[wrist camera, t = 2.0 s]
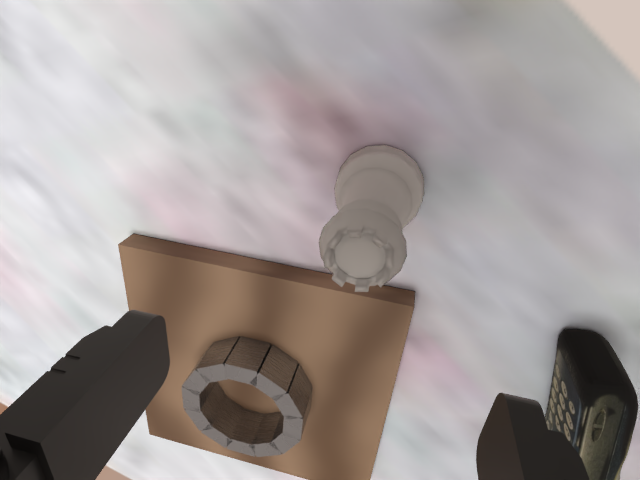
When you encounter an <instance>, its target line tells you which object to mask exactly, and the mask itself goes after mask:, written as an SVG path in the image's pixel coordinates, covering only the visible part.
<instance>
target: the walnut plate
mask: <svg viewBox="0 0 640 480" xmlns="http://www.w3.org/2000/svg"><path fill="white" fill-rule="evenodd" d="M118 246H119V252H120V258H121V264H122V270H123V276H124V282H125V288H126V294H127V300H128V307H129V311H130V310H138V311H143V312H147V313H152V314H156V315H160V316H163V317H164V319H165V323H166V331H167V339H168V347H169V356H170V367H169V371H168V375H167V377H166V379H165V382H164V383H163V385H162V387H161V388H160V389H159V391H158V392H157V394H156V395H155V396H154V398H153V399H152V401H151V402H150V403H149V405H148V406H147V408H146V415H147V421H148V427H149V433H150V434H151V435H154V436H158V437H161V438H165V439H168V440H172V441H175V442H179V443H182V444H186V445H189V446H193V447H196V448H200V449H203V450H207V451H210V452H214V453H217V454H221V455H224V456H228V457H231V458H235V459H238V460H242V461H245V462H249V463H252V464H256V465H259V466H263V467H266V468H270V469H273V470H276V471H280V472H283V473H287V474H290V475H294V476H297V477H301V478H304V479H308V480H370V478H371V474H372V470H373V466H374V462H375V458H376V454H377V450H378V446H379V442H380V439H381V435H382V431H383V427H384V423H385V419H386V415H387V411H388V407H389V403H390V400H391V396H392V392H393V388H394V384H395V380H396V376H397V372H398V368H399V364H400V361H401V357H402V353H403V349H404V345H405V341H406V337H407V333H408V329H409V325H410V322H411V318H412V314H413V310H414V300H415V292H414V291H410V290H405V289H400V288H395V287H390V286H385V285H383V286H382V287H381V288H380V287H379V286H378V285H375V286H369V291H368V292H355V285H354V284H351V283H348V282H345V283H344V285H343V286H342V287H341V286H339V285H338V284H337V283H336V282H334V281H333V280H332V276H333V275H332V274H327V273H322V272H317V271H312V270H307V269H302V268H298V267H293V266H288V265H283V264H278V263H273V262H268V261H263V260H259V259H254V258H249V257H244V256H239V255H234V254H229V253H225V252H220V251H215V250H210V249H205V248H200V247H195V246H190V245H186V244H181V243H176V242H171V241H166V240H161V239H156V238H151V237H147V236H142V235H137V234H132V235H131V236H130V237H128V238H127V239H125V240H124V241H123V242H121V243H120V244H118ZM236 336H240V337H241V336H244V337H248V338H253V339H257V340H261V341H265V342H269V343H271V345H272V344H274V345H275V346H277V347H278V348H280V349H281V350H283V351H284V352H285V353H287V354H288V355H290V356H291V357H292V358H294V359H295V360H297V361H298V363H300V365H301V366H302V368H303V370H304V372H305V373H306V375H307V377H308V379H309V381H310V382H311V384H312V387H313V391H312V399H311V408H310V411H309V414H308V418H307V421H306V424H305V428H304V431H303V434H302V438H301V440H300V442H299V443H297V444H296V445H295V446H293V447H292V448H291V449H290V450H288V451H287V452H286V453H284V454H282V455H274V456H263V457H256V455H255V457H253V456H250V455H246V454H243V453H239V452H236V451H232V450H229V449H227V447H226V448H224V447H223V446H221V445H220V444H218V443H217V442H215V441H214V440H212V439H211V438H209V437H208V436H206V435H205V434H203V433H202V432H201V431H199V429H198V428H197V427H196V425H195V424H194V423H193V421H192V420H191V418H190V417H189V416H188V414H187V413H186V412H185V410H184V408H183V398H182V388H181V387H182V385H183V383H184V382H185V380H186V379H187V377H188V376H189V374H190V373H191V371H192V370H193V368H194V367H195V365H196V364H197V363H198V361H199V360H200V358H201V357H202V356H203V354H204V353H205V352H206V351H207V349H208V348H209V347H210V346H211V345H212V343H213V342H215V341H219V340H223V339H228V338H232V337H236ZM217 382H218V383H219V385H220V386H221V388H222V389H223V391H224V392H225V394H226V395H227V397H228V398H230V399H231V400H233V401H234V402H236V403H237V404H239V405H240V406H242V407H243V408H245V409H249V410H252V411H256V412H260V413H264V414H266V413H273V412H280V410H279V408H278V406H277V405H276V403H275V402H274V400H273V399H272V398H271V397H269V396H268V395H266V394H265V393H263V392H262V391H260V390H259V389H257V388H256V387H255V386H253V385H250V384H246V383H242V382H238V381H234V380H230V379H227V380H222V381H217Z"/></svg>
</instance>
